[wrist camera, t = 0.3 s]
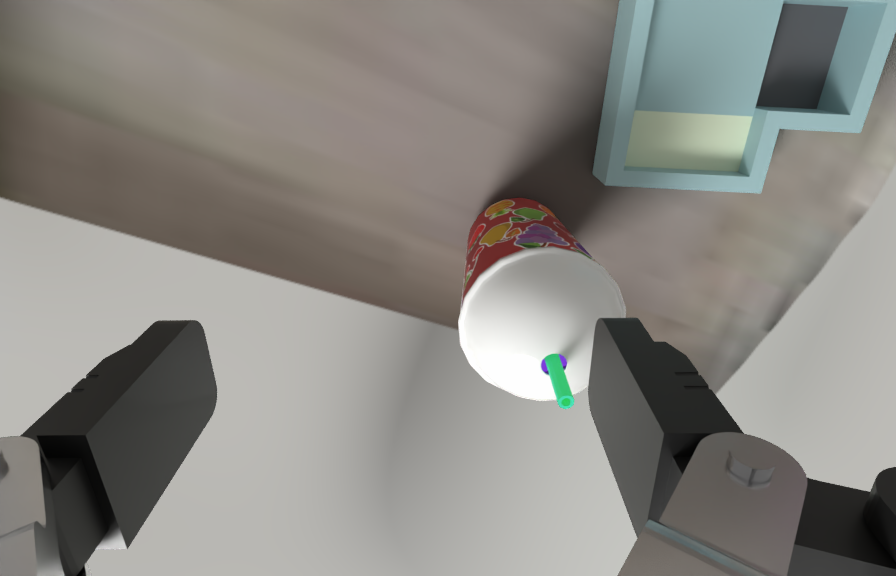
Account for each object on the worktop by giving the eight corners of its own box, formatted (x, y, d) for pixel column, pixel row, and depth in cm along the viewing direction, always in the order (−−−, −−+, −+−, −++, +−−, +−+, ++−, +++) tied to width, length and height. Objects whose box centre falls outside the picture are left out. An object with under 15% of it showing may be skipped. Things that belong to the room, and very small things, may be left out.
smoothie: (461, 295, 42) (470, 490, 23) (450, 188, 38) (450, 318, 20) (571, 285, 41) (667, 475, 23) (570, 176, 38) (680, 297, 20)
